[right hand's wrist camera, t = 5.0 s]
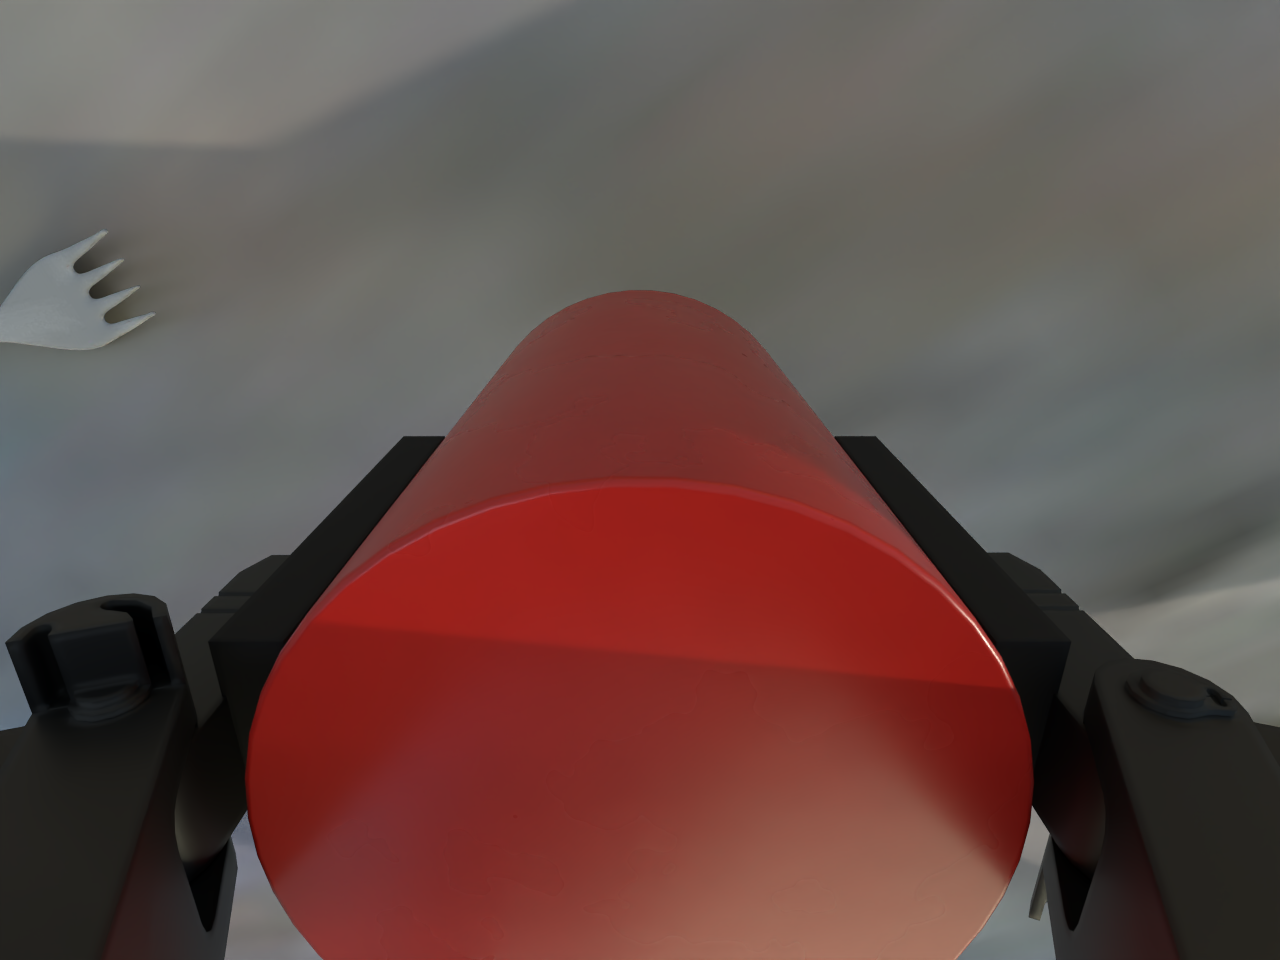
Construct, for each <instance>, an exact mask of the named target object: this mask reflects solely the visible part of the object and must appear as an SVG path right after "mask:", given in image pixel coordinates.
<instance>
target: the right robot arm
mask: <svg viewBox="0 0 1280 960" xmlns="http://www.w3.org/2000/svg"><path fill="white" fill-rule="evenodd" d="M444 439H445V436H404V437H403V438H402V439H401V440H400V441H399V442H398V443H397V444H396V445H395V446H394V447H393V448H392V449H391V450H390V451H389V452H388V453H387V454H386V455H385V457H384V458H383V459H382V460H381V461H380V462H379V463H378V464H377V465H376V466H375V467H374V468H373V469H372V470H371V471H370V472H369V473H368V474H367V475H366V476H365V477H364V479H363V480H362V481H361V482H360V483H359V484H358V485H357V486H356V487H355V488H354V489H353V490H352V491H351V492H350V493H349V494H348V495H347V496H346V497H345V498H344V499H343V501H342V502H341V503H340V504H339V505H338V506H337V507H336V508H335V509H334V510H333V511H332V512H331V513H330V514H329V515H328V516H327V517H326V518H325V519H324V520H323V521H322V522H321V524H320V525H319V526H318V527H317V528H316V529H315V530H314V531H313V532H312V533H311V534H310V535H309V536H308V537H307V538H306V539H305V540H304V541H303V542H302V543H301V544H300V546H299V547H298V548H297V549H296V550H295V551H294V552H293V553H292V554H291V555H271V556H269V557H267V558H265V559H264V560H262V561H260V562H258V563H256V564H254V565H252V566H251V567H249V568H247V569H245V570H243V571H241V572H240V573H238V574H237V575H236V576H235V577H234V578H233V579H232V580H231V581H230V582H229V583H228V584H227V585H226V586H225V587H224V588H223V589H222V590H221V591H220V592H219V596H214V597H213V598H212V599H211V600H210V601H209V602H208V603H207V604H206V605H205V606H204V607H203V608H202V609H201V613H197V614H196V615H195V616H194V617H193V618H191V619H190V620H189V621H188V622H187V623H186V624H185V625H184V626H183V627H182V628H181V629H180V630H179V631H178V632H177V633H176V634H174V630H173V627H172V623H171V620H170V616H169V612H168V609H167V605H166V603H164V602H163V601H161V600H160V599H158V598H156V597H155V596H149V595H142V594H121V595H109V596H103V597H99V598H95V599H90V600H86V601H81V602H77V603H74V604H72V605H69V606H66V607H64V608H61V609H58V610H55V611H53V612H50V613H47V614H45V615H44V616H42V617H40V618H38V619H36V620H35V621H33V622H31V623H29V624H27V625H25V626H24V627H22V628H21V629H20V630H18V631H17V632H16V633H15V634H14V635H13V636H12V637H11V638H10V639H9V640H7V641H6V642H5V644H6V646H7V649H8V652H9V654H10V657H11V659H12V662H13V665H14V667H15V670H16V673H17V675H18V678H19V680H20V683H21V686H22V688H23V691H24V693H25V696H26V699H27V701H28V704H29V707H30V709H31V712H32V715H31V717H30V718H29V720H28V722H27V724H26V725H25V726H23V727H18V728H13V729H8V730H3V731H0V960H224V957H225V950H226V944H227V937H228V930H229V923H230V917H231V910H232V903H233V897H234V890H235V883H236V876H237V870H238V867H237V860H236V853H235V849H234V846H233V842H232V838H231V834H232V833H233V831H234V830H235V828H236V826H237V825H238V823H239V822H240V820H241V819H242V817H243V815H244V814H245V812H246V811H247V799H246V786H245V772H246V762H247V752H248V741H249V732H250V729H251V725H252V722H253V718H254V714H255V711H256V707H257V704H258V700H259V697H260V693H261V691H262V689H263V686H264V684H265V682H266V680H267V678H268V676H269V674H270V672H271V670H272V668H273V666H274V664H275V662H276V659H277V657H278V655H279V653H280V651H281V650H282V649H283V647H284V646H285V644H286V643H287V642H288V640H289V639H290V637H291V636H292V634H293V633H294V632H295V630H296V629H297V627H298V626H299V625H300V623H301V622H302V620H303V619H304V618H305V616H306V615H307V613H308V612H309V611H310V609H311V608H312V607H313V606H314V604H315V603H316V602H317V601H318V599H319V598H320V597H321V595H322V594H323V593H324V592H325V590H326V589H327V588H328V587H329V585H330V584H331V583H332V581H333V580H334V579H335V578H336V576H337V575H338V574H339V573H340V571H341V570H342V569H343V567H344V566H345V565H346V564H347V562H348V561H349V560H350V559H351V557H352V556H353V555H354V553H355V552H356V551H357V550H358V548H359V547H360V546H361V545H362V543H363V542H364V541H365V539H366V538H367V537H368V536H369V534H370V533H371V532H372V530H373V529H374V528H375V527H376V525H377V524H378V523H379V522H380V520H381V519H382V518H383V516H384V515H385V514H386V513H387V511H388V510H389V509H390V508H391V506H392V505H393V504H394V502H395V501H396V500H397V499H398V497H399V496H400V495H401V494H402V492H403V491H404V490H405V488H406V487H407V486H408V485H409V483H410V482H411V481H412V480H413V478H414V477H415V476H416V474H417V473H418V472H419V471H420V469H421V468H422V467H423V466H424V464H425V463H426V462H427V460H428V459H429V458H430V457H431V455H432V454H433V453H434V452H435V450H436V449H437V448H438V446H439V445H440V444H441V443H442V441H443V440H444ZM835 440H836V441H837V442H838V443H839V445H840V446H841V447H842V449H843V450H844V451H845V452H846V454H847V455H848V456H849V457H850V459H851V460H852V461H853V463H854V464H855V465H856V466H857V468H858V469H859V470H860V472H861V473H862V474H863V475H864V477H865V478H866V479H867V480H868V482H869V483H870V484H871V486H872V487H873V488H874V489H875V491H876V492H877V493H878V494H879V496H880V497H881V498H882V500H883V501H884V502H885V503H886V505H887V506H888V507H889V509H890V510H891V511H892V512H893V514H894V515H895V516H896V517H897V519H898V520H899V521H900V523H901V524H902V525H903V526H904V528H905V529H906V530H907V532H908V533H909V534H910V535H911V537H912V538H913V539H914V540H915V542H916V543H917V544H918V546H919V547H920V548H921V549H922V551H923V552H924V553H925V555H926V556H927V557H928V558H929V560H930V561H931V562H932V563H933V565H934V566H935V567H936V569H937V570H938V571H939V572H940V574H941V575H942V576H943V578H944V579H945V580H946V581H947V583H948V584H949V585H950V586H951V588H952V589H953V590H954V592H955V593H956V594H957V595H958V597H959V598H960V599H961V601H962V602H963V603H964V604H965V606H966V607H967V608H968V609H969V611H970V612H971V613H972V615H973V616H974V617H975V618H976V620H977V621H978V623H979V624H980V626H981V627H982V629H983V630H984V632H985V633H986V635H987V636H988V638H989V639H990V641H991V642H992V643H993V645H994V646H995V648H996V649H997V651H998V652H999V654H1000V655H1001V657H1002V659H1003V661H1004V663H1005V665H1006V668H1007V670H1008V672H1009V674H1010V676H1011V679H1012V681H1013V683H1014V685H1015V687H1016V690H1017V692H1018V694H1019V696H1020V699H1021V703H1022V707H1023V711H1024V715H1025V719H1026V723H1027V726H1028V730H1029V734H1030V738H1031V750H1032V764H1033V777H1034V788H1033V798H1032V806H1033V808H1034V809H1035V811H1036V812H1037V814H1038V815H1039V817H1040V819H1041V820H1042V822H1043V823H1044V825H1045V826H1046V828H1047V830H1048V831H1049V833H1050V835H1049V838H1048V842H1047V846H1046V849H1045V853H1044V856H1043V860H1042V863H1041V867H1040V871H1039V874H1038V878H1037V881H1036V885H1035V889H1034V892H1033V896H1032V899H1031V905H1030V911H1029V917H1030V918H1033V919H1036V920H1040V918H1041V914H1042V911H1043V908H1044V904H1045V903H1046V902H1048V908H1049V915H1050V921H1051V928H1052V935H1053V942H1054V948H1055V955H1056V960H1280V727H1275V726H1270V725H1265V724H1260V723H1255V722H1253V720H1252V719H1251V717H1250V715H1249V714H1248V712H1247V711H1246V710H1245V709H1244V708H1243V707H1242V706H1241V704H1240V703H1239V702H1238V701H1237V700H1236V699H1235V698H1234V697H1233V696H1232V695H1231V694H1229V693H1227V692H1226V691H1224V690H1223V689H1221V688H1220V687H1218V686H1217V685H1215V684H1214V683H1212V682H1211V681H1209V680H1207V679H1205V678H1202V677H1200V676H1198V675H1195V674H1193V673H1191V672H1189V671H1186V670H1184V669H1182V668H1178V667H1175V666H1171V665H1167V664H1163V663H1160V662H1156V661H1152V660H1141V659H1134V658H1133V657H1132V656H1131V655H1130V654H1128V653H1127V652H1126V651H1125V650H1124V649H1123V648H1122V647H1121V646H1120V645H1119V644H1118V643H1117V642H1116V641H1115V640H1114V639H1113V638H1112V637H1111V636H1110V635H1108V634H1107V633H1106V632H1105V631H1104V630H1103V629H1102V628H1101V627H1100V626H1099V625H1098V624H1097V623H1096V622H1095V621H1094V620H1093V619H1092V618H1091V617H1090V616H1088V615H1087V614H1086V613H1085V612H1084V611H1079V606H1078V605H1077V604H1076V603H1075V602H1074V601H1073V600H1072V599H1071V598H1070V597H1068V596H1067V595H1066V594H1062V593H1061V589H1060V588H1059V587H1058V586H1057V585H1056V584H1055V583H1054V582H1053V581H1052V580H1051V579H1050V578H1048V577H1047V576H1046V575H1045V574H1044V573H1043V572H1042V571H1041V570H1040V569H1038V568H1036V567H1034V566H1032V565H1031V564H1029V563H1027V562H1025V561H1023V560H1021V559H1019V558H1017V557H1016V556H1014V555H1012V554H1010V553H987V552H986V551H985V550H984V549H983V548H982V547H981V546H980V545H979V544H978V543H977V542H976V541H975V540H974V539H973V538H972V537H971V536H970V535H969V534H968V533H967V531H966V530H965V529H964V528H963V527H962V526H961V525H960V524H959V523H958V522H957V521H956V520H955V519H954V518H953V517H952V516H951V515H950V514H949V513H948V512H947V511H946V509H945V508H944V507H943V506H942V505H941V504H940V503H939V502H938V501H937V500H936V499H935V498H934V497H933V496H932V495H931V494H930V493H929V492H928V491H927V490H926V489H925V487H924V486H923V485H922V484H921V483H920V482H919V481H918V480H917V479H916V478H915V477H914V476H913V475H912V474H911V473H910V472H909V471H908V470H907V469H906V468H905V467H904V465H903V464H902V463H901V462H900V461H899V460H898V459H897V458H896V457H895V456H894V455H893V454H892V453H891V452H890V451H889V450H888V449H887V448H886V447H885V446H884V445H883V443H882V442H881V441H880V440H879V439H878V438H877V437H876V436H835Z"/></svg>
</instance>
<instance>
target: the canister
mask: <svg viewBox="0 0 1280 960" xmlns="http://www.w3.org/2000/svg"><path fill="white" fill-rule="evenodd" d="M245 786H246V799H247V811H248V820H249V824H250V828H251V832H252V836H253V840H254V844H255V848H256V851H257V855H258V858H259V860H260V863H261V865H262V867H263V869H264V872H265V874H266V876H267V879H268V881H269V883H270V886H271V888H272V890H273V892H274V894H275V896H276V897H277V899H278V900H279V902H280V904H281V905H282V907H283V908H284V910H285V912H286V913H287V915H288V916H289V918H290V920H291V921H292V923H293V925H294V926H295V927H296V928H297V929H298V931H299V932H300V933H301V934H302V935H303V937H304V938H305V939H306V940H307V942H308V943H309V944H310V945H311V946H312V948H313V949H314V950H315V951H316V952H317V954H318V955H319V956H320V957H321V958H322V959H323V960H956V959H957V958H958V957H959V956H960V954H961V953H962V952H963V951H964V950H965V949H966V947H967V946H968V945H969V944H970V943H971V942H972V940H973V939H974V938H975V937H976V936H977V934H978V933H979V932H980V931H981V930H982V929H983V927H984V926H985V924H986V922H987V921H988V919H989V918H990V916H991V915H992V913H993V912H994V910H995V908H996V907H997V905H998V904H999V902H1000V901H1001V899H1002V898H1003V896H1004V894H1005V892H1006V890H1007V887H1008V885H1009V883H1010V881H1011V879H1012V876H1013V874H1014V872H1015V870H1016V867H1017V865H1018V863H1019V861H1020V858H1021V854H1022V850H1023V847H1024V843H1025V839H1026V836H1027V832H1028V828H1029V825H1030V819H1031V808H1032V798H1033V788H1034V777H1033V764H1032V750H1031V738H1030V734H1029V730H1028V726H1027V723H1026V719H1025V715H1024V711H1023V707H1022V703H1021V699H1020V696H1019V694H1018V692H1017V690H1016V687H1015V685H1014V683H1013V681H1012V679H1011V676H1010V674H1009V672H1008V670H1007V668H1006V665H1005V663H1004V661H1003V659H1002V657H1001V655H1000V654H999V652H998V651H997V649H996V648H995V646H994V645H993V643H992V642H991V641H990V639H989V638H988V636H987V635H986V633H985V632H984V630H983V629H982V627H981V626H980V624H979V623H978V621H977V620H976V618H975V617H974V616H973V615H972V613H971V612H970V611H969V609H968V608H967V607H966V606H965V604H964V603H963V602H962V601H961V599H960V598H959V597H958V595H957V594H956V593H955V592H954V590H953V589H952V588H951V586H950V585H949V584H948V583H947V581H946V580H945V579H944V578H943V576H942V575H941V574H940V572H939V571H938V570H937V569H936V567H935V566H934V565H933V563H932V562H931V561H930V560H929V558H928V557H927V556H926V555H925V553H924V552H923V551H922V549H921V548H920V547H919V546H918V544H917V543H916V542H915V540H914V539H913V538H912V537H911V535H910V534H909V533H908V532H907V530H906V529H905V528H904V526H903V525H902V524H901V523H900V521H899V520H898V519H897V517H896V516H895V515H894V514H893V512H892V511H891V510H890V509H889V507H888V506H887V505H886V503H885V502H884V501H883V500H882V498H881V497H880V496H879V494H878V493H877V492H876V491H875V489H874V488H873V487H872V486H871V484H870V483H869V482H868V480H867V479H866V478H865V477H864V475H863V474H862V473H861V472H860V470H859V469H858V468H857V466H856V465H855V464H854V463H853V461H852V460H851V459H850V457H849V456H848V455H847V454H846V452H845V451H844V450H843V449H842V447H841V446H840V445H839V443H838V442H837V441H836V440H835V438H834V437H833V436H832V434H831V433H830V432H829V431H828V429H827V428H826V427H825V426H824V424H823V423H822V422H821V420H820V419H819V418H818V417H817V415H816V414H815V413H814V411H813V410H812V409H811V408H810V406H809V405H808V404H807V403H806V401H805V400H804V399H803V397H802V396H801V395H800V394H799V392H798V391H797V390H796V388H795V387H794V386H793V385H792V383H791V382H790V381H789V380H788V378H787V377H786V376H785V374H784V373H783V372H782V371H781V369H780V368H779V367H778V366H777V364H776V363H775V362H774V360H773V359H772V358H771V357H770V355H769V354H768V353H767V351H766V350H765V349H764V348H763V347H762V346H761V345H760V343H759V342H758V341H757V340H756V339H755V338H754V337H753V336H752V335H751V334H750V333H749V332H748V331H747V330H746V329H744V328H743V327H742V326H741V325H739V324H738V323H737V322H736V321H735V320H733V319H732V318H730V317H728V316H727V315H725V314H723V313H722V312H720V311H719V310H717V309H715V308H713V307H711V306H708V305H706V304H704V303H702V302H699V301H697V300H695V299H691V298H688V297H684V296H681V295H677V294H673V293H666V292H659V291H651V290H629V291H621V292H613V293H607V294H603V295H599V296H595V297H592V298H588V299H585V300H583V301H580V302H578V303H576V304H573V305H571V306H568V307H566V308H565V309H563V310H561V311H559V312H558V313H556V314H554V315H553V316H551V317H549V318H548V319H546V320H545V321H544V322H543V323H541V324H540V325H539V326H538V327H536V328H535V329H534V330H533V331H531V332H530V333H529V334H528V335H527V337H526V338H525V339H524V340H523V341H522V342H521V343H520V344H519V345H518V346H517V347H516V348H515V350H514V351H513V352H512V353H511V355H510V356H509V357H508V359H507V360H506V361H505V362H504V364H503V365H502V366H501V367H500V369H499V370H498V371H497V373H496V374H495V375H494V376H493V378H492V379H491V380H490V381H489V383H488V384H487V385H486V387H485V388H484V389H483V390H482V392H481V393H480V394H479V395H478V397H477V398H476V399H475V401H474V402H473V403H472V404H471V406H470V407H469V408H468V409H467V411H466V412H465V413H464V415H463V416H462V417H461V418H460V420H459V421H458V422H457V423H456V425H455V426H454V427H453V429H452V430H451V431H450V432H449V434H448V435H447V436H446V438H445V439H444V440H443V441H442V443H441V444H440V445H439V446H438V448H437V449H436V450H435V452H434V453H433V454H432V455H431V457H430V458H429V459H428V460H427V462H426V463H425V464H424V466H423V467H422V468H421V469H420V471H419V472H418V473H417V474H416V476H415V477H414V478H413V480H412V481H411V482H410V483H409V485H408V486H407V487H406V488H405V490H404V491H403V492H402V494H401V495H400V496H399V497H398V499H397V500H396V501H395V502H394V504H393V505H392V506H391V508H390V509H389V510H388V511H387V513H386V514H385V515H384V516H383V518H382V519H381V520H380V522H379V523H378V524H377V525H376V527H375V528H374V529H373V530H372V532H371V533H370V534H369V536H368V537H367V538H366V539H365V541H364V542H363V543H362V545H361V546H360V547H359V548H358V550H357V551H356V552H355V553H354V555H353V556H352V557H351V559H350V560H349V561H348V562H347V564H346V565H345V566H344V567H343V569H342V570H341V571H340V573H339V574H338V575H337V576H336V578H335V579H334V580H333V581H332V583H331V584H330V585H329V587H328V588H327V589H326V590H325V592H324V593H323V594H322V595H321V597H320V598H319V599H318V601H317V602H316V603H315V604H314V606H313V607H312V608H311V609H310V611H309V612H308V613H307V615H306V616H305V618H304V619H303V620H302V622H301V623H300V625H299V626H298V627H297V629H296V630H295V632H294V633H293V634H292V636H291V637H290V639H289V640H288V642H287V643H286V644H285V646H284V647H283V649H282V650H281V651H280V653H279V655H278V657H277V659H276V662H275V664H274V666H273V668H272V670H271V672H270V674H269V676H268V678H267V680H266V682H265V684H264V686H263V689H262V691H261V693H260V697H259V700H258V704H257V707H256V711H255V714H254V718H253V722H252V725H251V729H250V732H249V741H248V752H247V762H246V772H245Z"/></svg>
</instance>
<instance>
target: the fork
mask: <svg viewBox="0 0 1280 960" xmlns="http://www.w3.org/2000/svg"><path fill="white" fill-rule="evenodd" d="M107 233H108V230H106V229H102V230H100V231H99V232H98V233H97V234H95V235H93V236H91V237H89V238H86V239H84V240H82V241H80V242H78V243H76V244H74V245H72V246H70V247H68V248H66V249H63V250H61V251H58V252H55V253H52V254H50V255H47V256H45V257H43V258H41V259H40V260H38V261H37V262H36V263H34V264H33V265H32V266H31V267H30V268H29V269H28V270H27V271H26V272H25V273H24V274H23V276H22V277H21V278H20V279H19V281H18V282H17V283H16V285H15V286H14V287H13V289H12V290H11V292H10V293H9V295H8V296H7V298H6V299H5V300H4V302H3V303H2V305H1V306H0V342H11V343H21V344H28V345H35V346H42V347H49V348H57V349H66V350H90V349H96V348H99V347H102V346H104V345H107V344H108V343H110V342H112V341H113V340H115V339H117V338H118V337H120V336H122V335H124V334H125V333H127V332H129V331H131V330H132V329H134V328H136V327H137V326H139V325H140V324H142V323H143V322H145V321H146V320H148V319H149V318H151V317H153V316H155V315H156V313H155V312H150V313H148V314H145V315H141V316H138V317H134V318H131V319H127V320H124V321H121V322H118V323H113V324H109V323H107V322H106V321H105V319H104V315H105V313H106V312H107V311H109V310H110V309H111V308H113V307H114V306H116V305H117V304H119V303H120V302H122V301H123V300H124V299H126V298H127V297H129V296H130V295H131V294H132V293H134V292H135V291H136V290H138V289H139V288H140V286H134V287H132V288H129V289H126V290H123V291H120V292H117V293H114V294H111V295H108V296H106V297H103V298H100V299H93V298H92V297H91V296H90V294H89V290H90V288H91V287H92V286H93V285H94V284H96V283H97V282H99V281H100V280H101V279H103V278H104V277H105V276H106V275H108V274H109V273H110V272H111V271H112V270H114V269H115V268H116V267H117V266H118V265H119V264H121V263H122V262H123V261H124V258H121V259H117V260H115V261H113V262H110V263H108V264H105V265H103V266H100V267H98V268H96V269H93V270H91V271H89V272H86V273H82V274H79V273H77V272H76V271H75V270H74V263H75V262H76V261H77V260H78V259H79V258H80V257H81V256H83V255H84V254H85V253H86V252H88V251H89V250H90V249H91V248H92V247H93V246H94V245H95V244H96V243H97V242H98V241H100V240H101V239H102V238H103V237H104V236H105V235H106V234H107Z"/></svg>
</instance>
